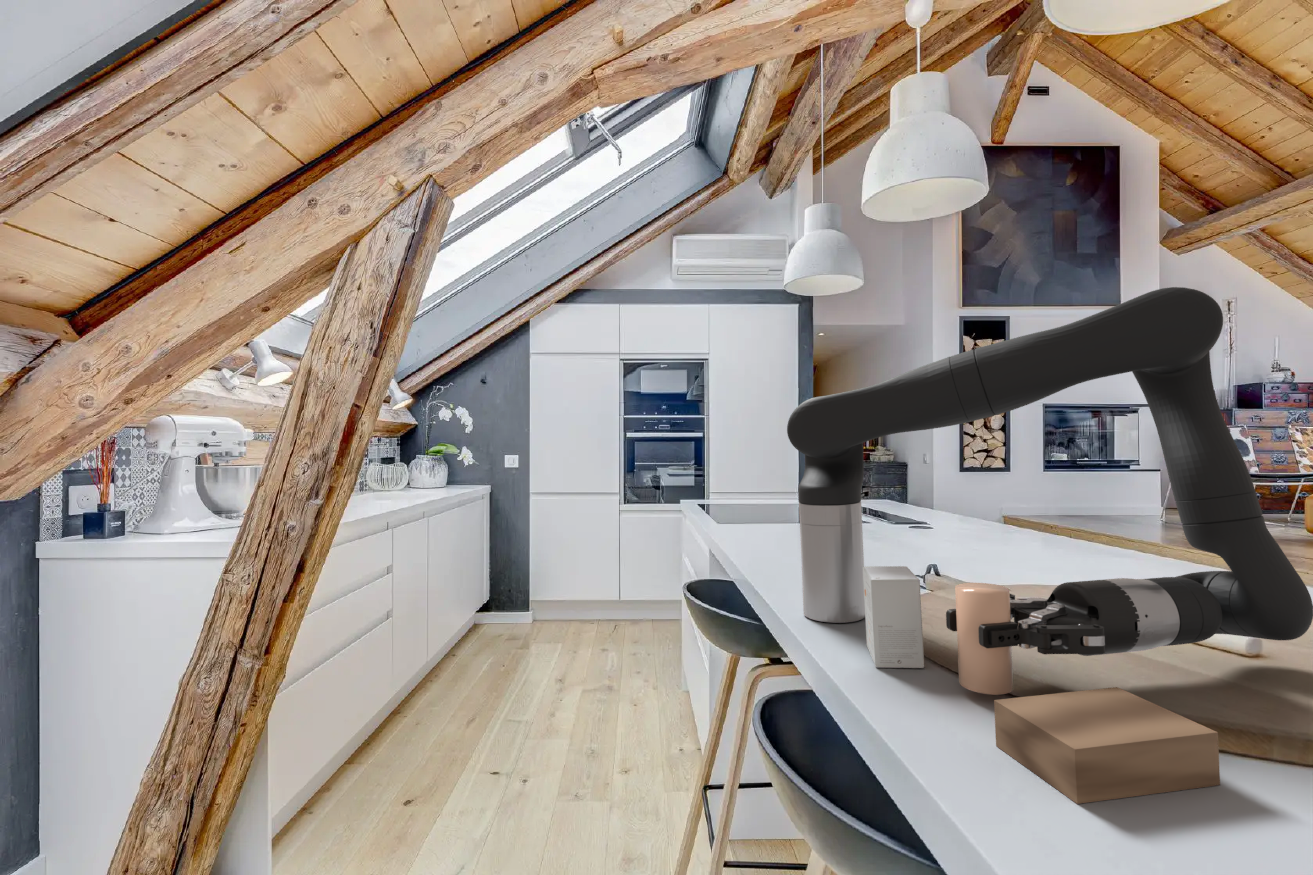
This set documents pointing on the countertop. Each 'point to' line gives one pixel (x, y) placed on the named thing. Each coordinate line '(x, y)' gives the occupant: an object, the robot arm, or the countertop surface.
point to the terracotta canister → (976, 662)
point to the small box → (893, 617)
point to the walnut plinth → (1106, 744)
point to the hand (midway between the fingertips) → (964, 628)
